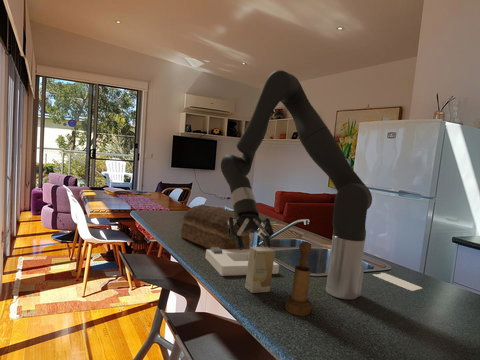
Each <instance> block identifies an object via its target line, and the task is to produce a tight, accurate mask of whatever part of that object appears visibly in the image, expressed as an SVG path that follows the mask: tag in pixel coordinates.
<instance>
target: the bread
mask: <svg viewBox="0 0 480 360" xmlns="http://www.w3.org/2000/svg"><path fill="white" fill-rule="evenodd" d="M230 217H232V218H233V219H236V218H235V213H234V212H232V211H230V210H228V209H225V208H223V207H220V206H217V207H216V206H211V205H204V204H198V205H195V206H192V207H191V208H190V209H188V210H187V211H186V212H185V213H184V216H183V223H182V226H181V231H180V237H181V238H183V239H184V240H188V241H189V242H192V243H193V244H194V243H195V244H197V245H199V246H202V247H204V248H206V249H207V250H211V247H219V248H220V249H221V250H222V249H239V248H237V245H236V240H235V238H233V237H232V238H230V237H229V236H228V228H227V221H228V219H229V218H230ZM239 229H240V228H239V227H238V226H237V225H236V223H235V224H234V230H235V232H238V231H239ZM240 236H242V240H243V245H244V248H243V249H250V240H251V239H250V232H249V233H245V232H242V234H241V235H240Z"/></svg>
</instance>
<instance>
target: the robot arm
mask: <svg viewBox="0 0 480 360" xmlns="http://www.w3.org/2000/svg"><path fill="white" fill-rule="evenodd" d="M261 90H262V91H261V94H260V96H259V99H258V101H257V103H256V106H255V109H254V111H253V113H252V116H251V118H250V120H249V122H248V124H247V125H246V128H245V129H244V130H243V133H242V135H241V136H240V137H239V140H238V141H237V144H236V149H237V150H238V151H239V152H240V153H242V156H241V157H240V156H238V155H235V154H230V153H229V154H226V155H224V156H223V157H222V159H221V161H220V172H221V173H222V175H223V177H224V179H225V180H226V182H227V184H228V186H229V190H230V196H231V202H232V203H231V204H232V209H233V213H235V218H236V219H233V218H232V217H230V218H229V219H228V221H227V228H228V236H229V237H230V238H232V237H233V238H235V240H236V245H237V248H239V250H242V249H243V248H244V245H243V240H242V236H240V235H241V234H242V232H245V233H249V232H250V233H251V234H254V233H255V234H256V235H257V236H259V237H260V238H261V239H262V243H263V247H269V248H271V246H272V244H271V240H270V239H271V238H272V237H273V235H274V234H275V233H274V230H273V227H272V223H271V221H270V219H269V218H268V217H266V219H261V217H260V213H259V210H258V205H257V202H256V198H255V195H254V193H253V190H252V185H251V182H250V179H249V178H248V177H247V176H248V175H249V173H250V172H251V169H252V165H253V162H254V157H255V156H256V152H257V150H258V149H259V148H260V145H261V143H262V142H263V141H264V138H265V137H266V134H267V130H268V126H269V122H270V120H271V117H272V114H273V112H274V110H275V109H276V108H277V106H278V104H280V103H282V105H283V106H284V107H285V108H286V110H287V111H288V113H289V114H290V116H291V117H292V119H293V121H294V122H293V123H294V125H295V129H296V134H297V136H298V139H299V141H300V144H302V146H303V148H304V149H305V152H306V153H307V155H309V157H310V158H311V159H312V161H313V162H314V163H315V164H316V165H317V166H318V167H319V168H320V170H321V171H323V172H324V173H325V174H326V176H327V177H329V179H330V181H331V182H332V184H333V186H334V188H335V190H336V191H337V192H336V194H335V198H334V204H333V215H332V227H333V230H332V231H333V232H332V238H331V239H332V241H331V246H330V247H331V249H330V254H329V256H330V257H329V263H328V271H327V277H326V286H325V291H326V293H327V294H328V295H330V296H332V297H334V298H338V299H342V300H355V299H357V298H359V297H361V294H362V286H363V279H364V271H365V264H363V258H364V250H365V246H366V244H365V243H366V237H367V230H366V224H367V223H366V222H367V221H366V220H367V215H368V214H367V213H368V211H369V209H370V207H371V205H372V203H373V195H372V193H371V191H370V189H369V188H368V186H367V185H366V184H365V183H364V181H362V179H361V178H360V177H359V176H358V174H357V173H356V171H355V170H354V169H353V168H352V166H351V165H350V163H349V161H348V159H347V157H346V156H345V154H344V152H343V150H342V148H341V147H340V145H339V144H338V141H337V140H336V138H335V137H334V135H333V134H332V132H331V130H330V129H329V127H328V126H327V125H326V123H325V121H324V120H323V119H322V117H321V116H320V115H319V113H318V112H317V111H316V109H315V108H314V107H313V106H312V104H311V102H310V100H309V99H308V96H307V95H306V92H305V90H304V89H303V86H302V84H301V83H300V81H299V80H298V78H297V77H296V76H295V75H293V74H291V73H289V72H287V71H285V70H281V69H279V70H278V69H277V70H275V71H273V72H272V73H270V74H269V75H268V77H267V78H266V81H265V83H264V86H263V88H262V89H261ZM235 223H236V225H237V226H238V227H239V228H240V229H239V231H238V232H235V230H234V224H235Z"/></svg>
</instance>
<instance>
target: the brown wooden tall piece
mask: <svg viewBox="0 0 480 360" xmlns="http://www.w3.org/2000/svg"><path fill="white" fill-rule="evenodd" d="M298 247H299V248H298V249H299V252H300V254H301V256H300V258H299V259H298V260H299V265H296V266H295V267H294V273H293V275H294V276H293V282H292V283H293V284H292V290H291V295H289V297H287V298H286V300H285V306H284V308H285V310H286V311H287V312H288V313H289V314H291V315H296V316H298V317H299V316H301V317H304V316H308V315H310V314H311V311H312V309H311V308H312V303H311V301H309V299H308V292H309V285H310V284H309V283H310V277H311V269H310V267H308V266H307V265H308V263H309V259H308V255H309V254H310V253H311V250H312V245H311V243H310V242H308V241H301V242H300V244H299V245H298Z"/></svg>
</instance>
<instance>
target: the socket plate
mask: <svg viewBox="0 0 480 360" xmlns="http://www.w3.org/2000/svg"><path fill="white" fill-rule="evenodd" d="M249 252H250V248H249V249H242V250H239V249H222V250H221V249H220V248H219V247H211V250H210V249H206V250H205V256H204V258H205V259H206V260H207V262H209V264H210V265H211V266H212V267H213V268H214V269H215V270H216V271H217V272H218V274H219V275H220V276H221V277H224V276H246V275H247V268H248V260H249ZM279 267H280V264H279V263H277V262H276V261H274V262H273V270H272V275H275V274H276V275H278V274H279Z"/></svg>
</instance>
